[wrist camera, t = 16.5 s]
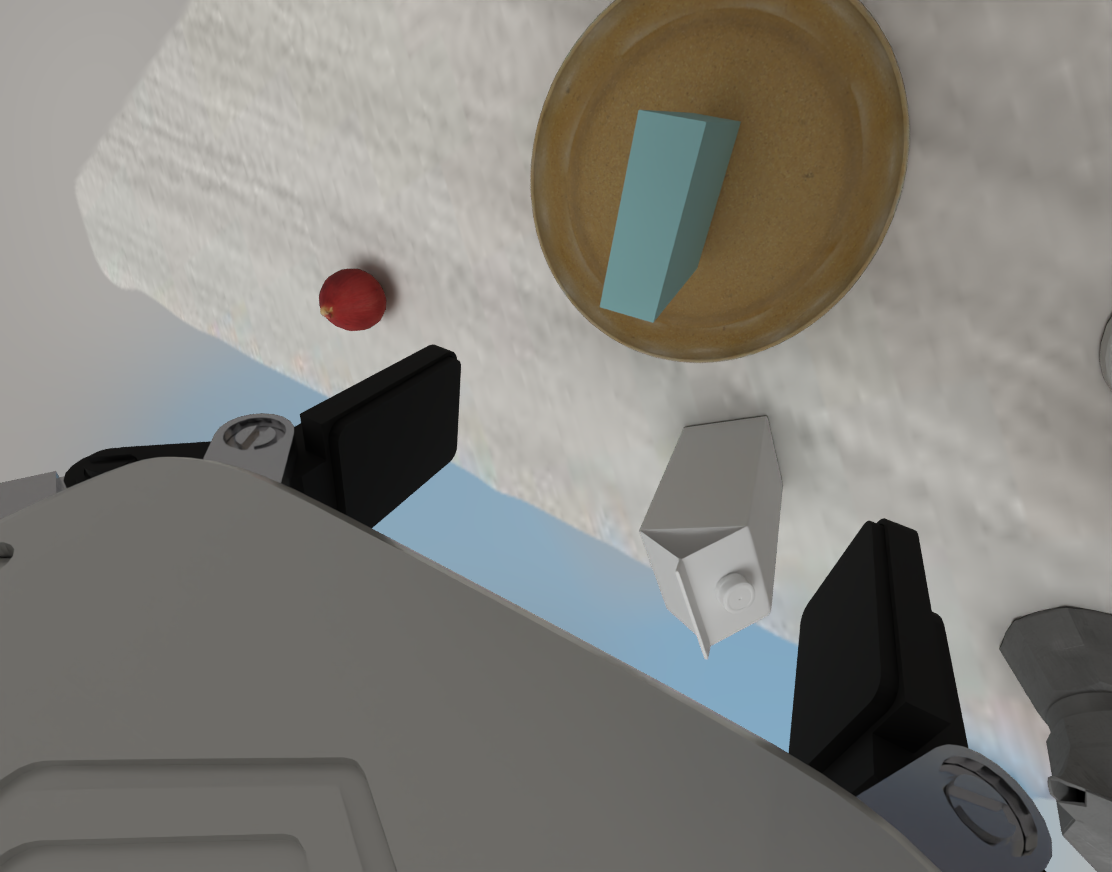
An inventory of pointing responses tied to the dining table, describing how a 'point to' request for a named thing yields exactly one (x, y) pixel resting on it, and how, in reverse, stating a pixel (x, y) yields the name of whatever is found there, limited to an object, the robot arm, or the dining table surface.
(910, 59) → the dining table surface
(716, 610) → the milk carton
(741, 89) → the plant saucer
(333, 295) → the onion
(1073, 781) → the coffeepot
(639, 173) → the teal board
